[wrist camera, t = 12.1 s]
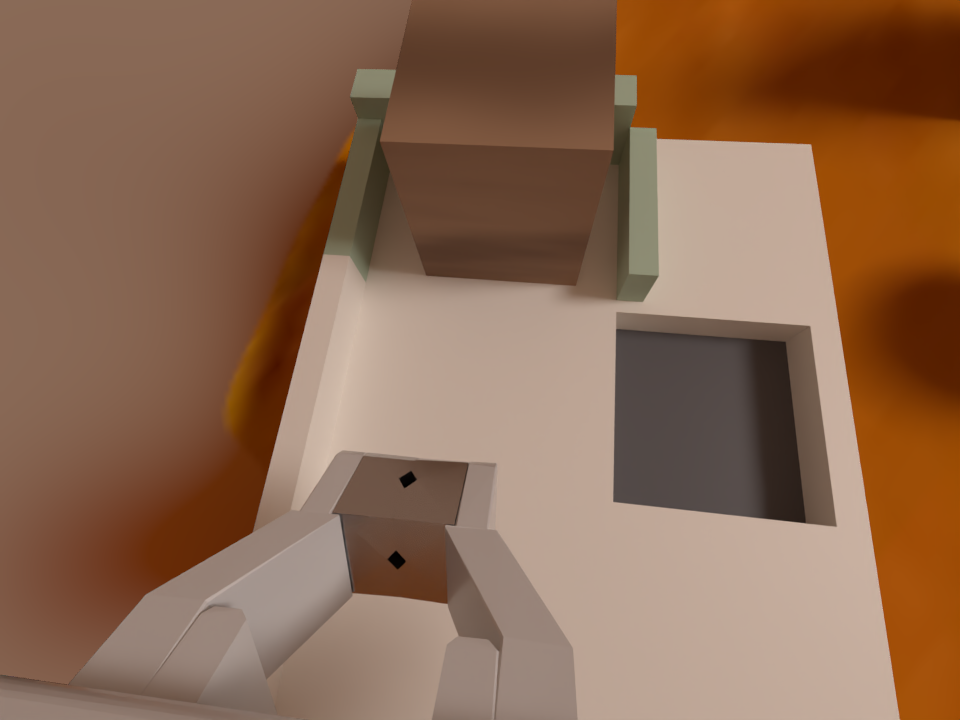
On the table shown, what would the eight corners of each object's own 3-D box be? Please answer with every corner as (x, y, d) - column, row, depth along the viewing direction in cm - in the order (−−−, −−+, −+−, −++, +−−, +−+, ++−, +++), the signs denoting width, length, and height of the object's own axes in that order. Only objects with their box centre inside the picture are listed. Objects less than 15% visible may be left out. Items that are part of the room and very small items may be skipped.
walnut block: (575, 285, 18) (613, 150, 11) (426, 275, 19) (379, 141, 12) (581, 163, 20) (617, -14, 13) (446, 157, 20) (415, -15, 14)
